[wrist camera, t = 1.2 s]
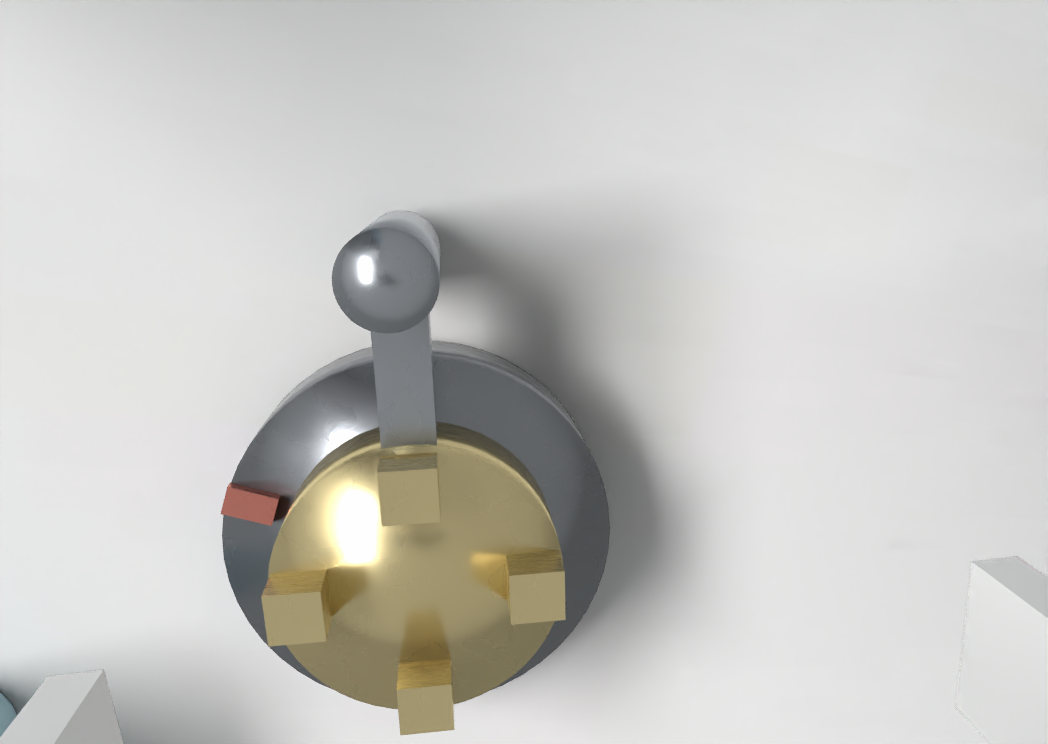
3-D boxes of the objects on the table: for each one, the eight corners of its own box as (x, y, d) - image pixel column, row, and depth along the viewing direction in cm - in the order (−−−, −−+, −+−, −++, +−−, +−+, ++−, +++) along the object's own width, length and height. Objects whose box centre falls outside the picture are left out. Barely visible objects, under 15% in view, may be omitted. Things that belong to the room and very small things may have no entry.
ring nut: (548, 618, 35) (582, 766, 26) (309, 639, 34) (264, 801, 25) (538, 205, 30) (576, 220, 21) (256, 215, 29) (176, 236, 20)
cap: (217, 350, 31) (191, 372, 28) (595, 330, 32) (612, 348, 29) (265, 676, 35) (247, 728, 32) (596, 645, 37) (611, 692, 33)
